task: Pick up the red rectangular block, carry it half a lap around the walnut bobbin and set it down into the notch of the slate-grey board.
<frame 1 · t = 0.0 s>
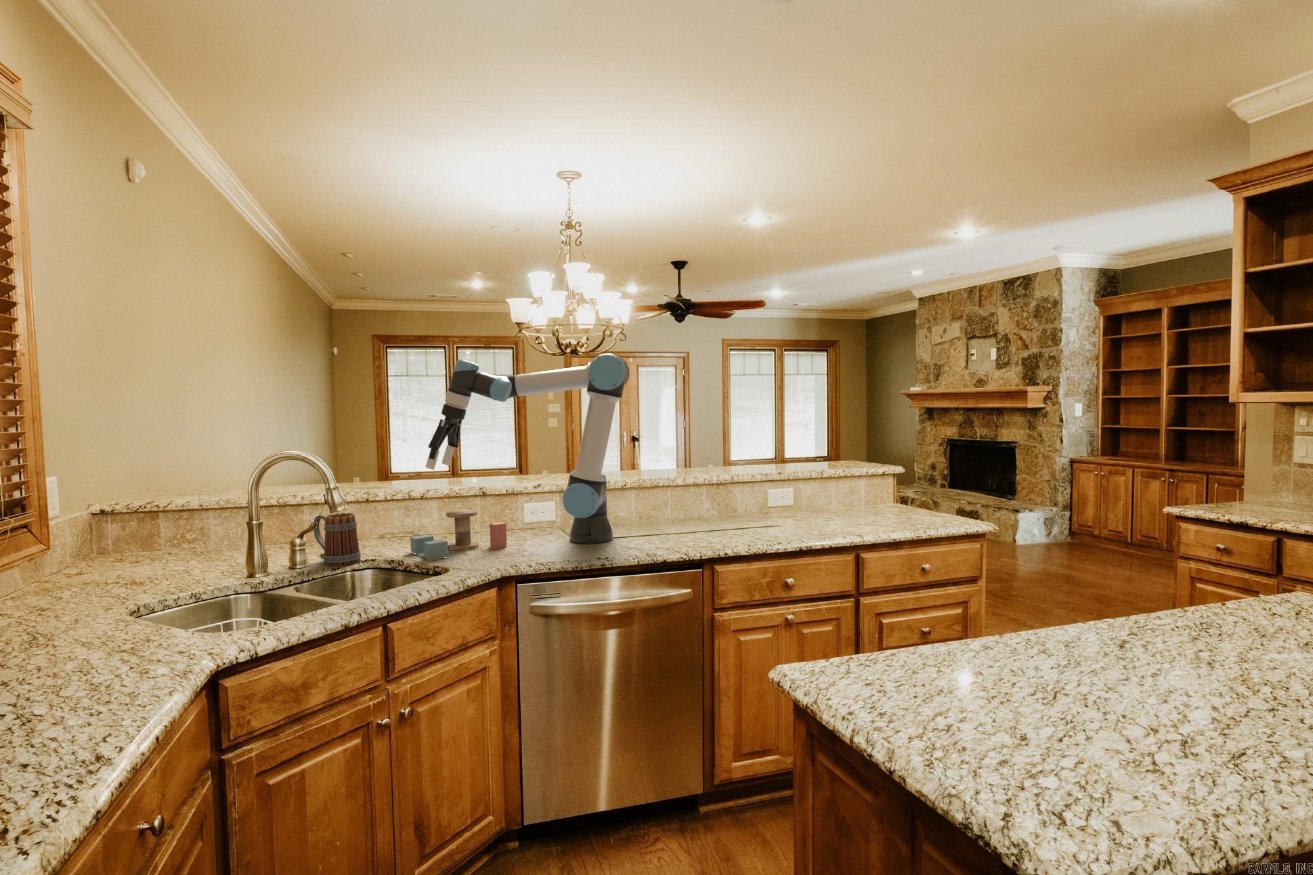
hand: (437, 466, 227), 28 cm above the countertop, tool tilted 20°, fingers open, 13 cm apart
red rectangular block: (498, 546, 229), on the countertop
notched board: (429, 555, 219), on the countertop
bobbin: (463, 547, 230), on the countertop
mug: (336, 562, 212), on the countertop
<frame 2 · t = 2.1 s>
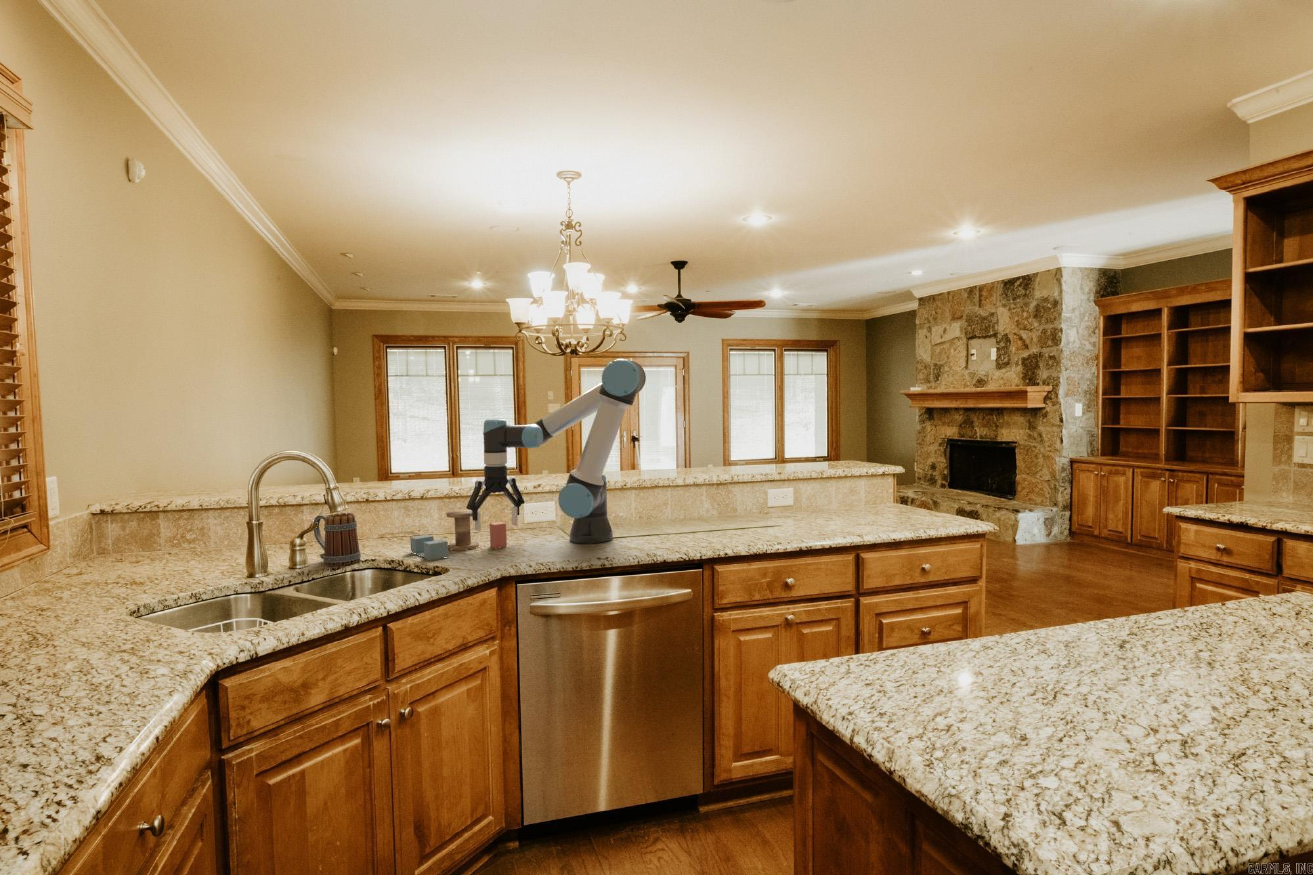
hand: (496, 527, 229), 6 cm above the countertop, tool pointing down, fingers open, 13 cm apart
nothing on the countertop moved.
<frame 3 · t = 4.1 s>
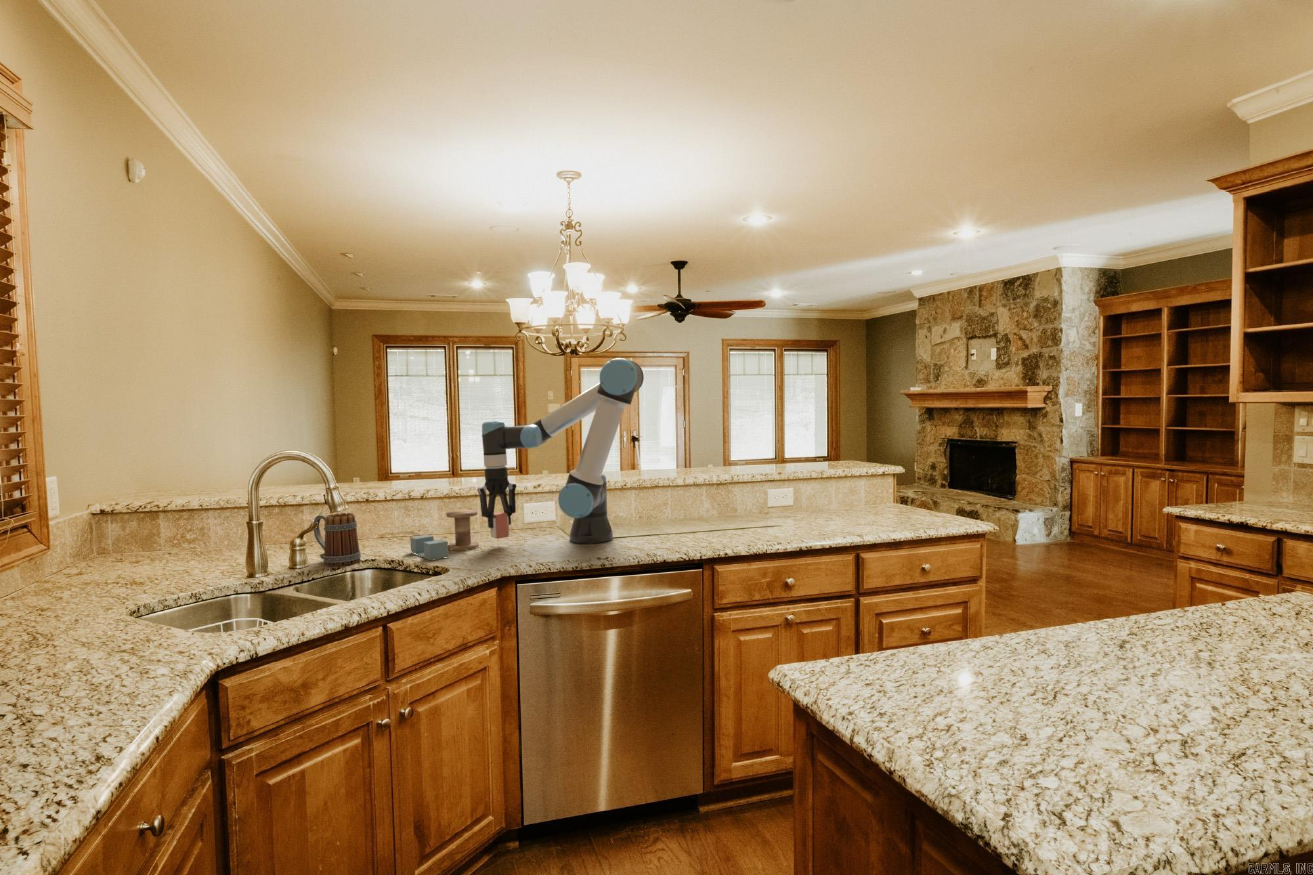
hand: (500, 535, 229), 4 cm above the countertop, tool pointing down, fingers closed on red rectangular block, 4 cm apart
red rectangular block: (500, 536, 229), point 3 cm above the countertop, touching gripper
everything else where it was.
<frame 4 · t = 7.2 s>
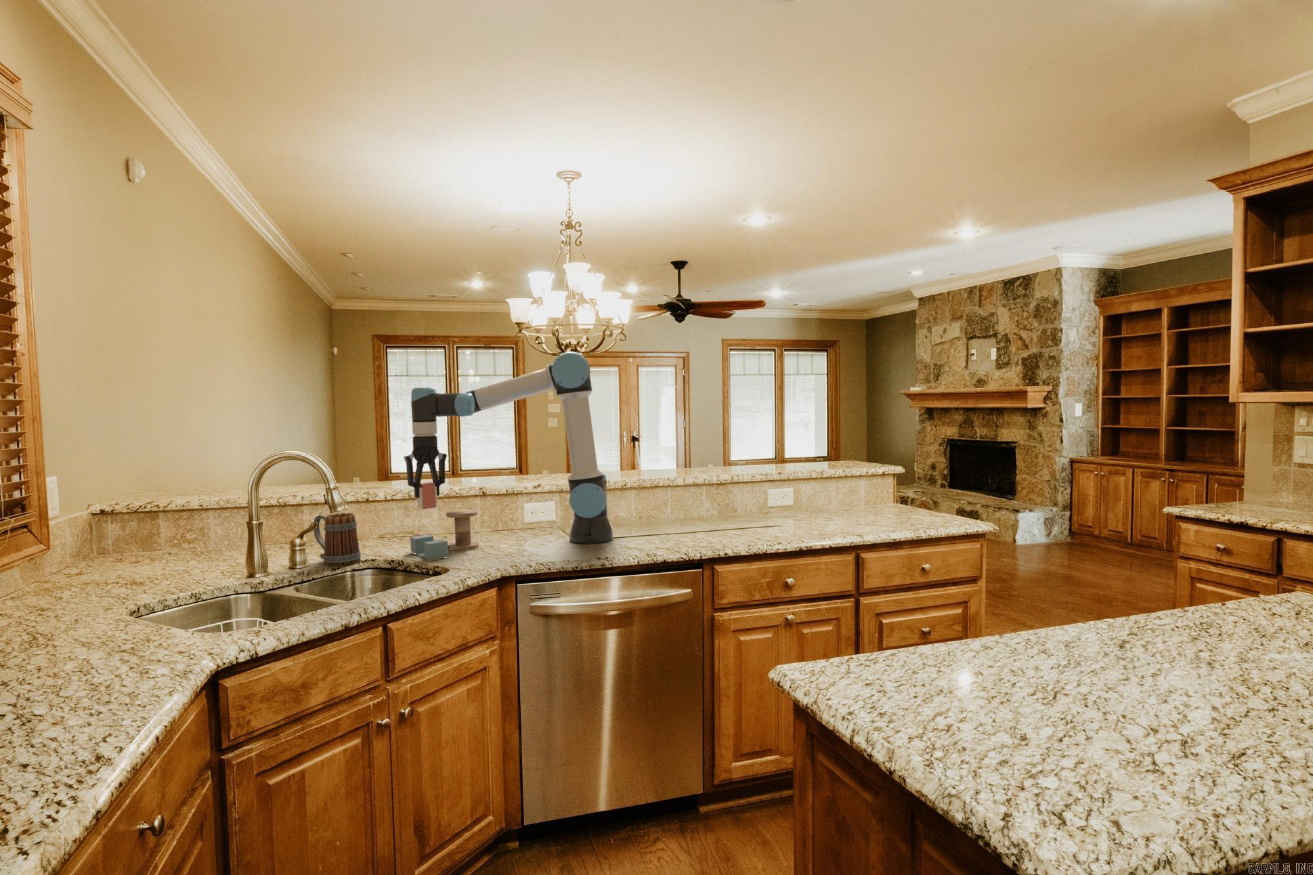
hand: (427, 506, 221), 15 cm above the countertop, tool pointing down, fingers closed on red rectangular block, 4 cm apart
red rectangular block: (427, 507, 221), point 15 cm above the countertop, touching gripper
everything else where it was.
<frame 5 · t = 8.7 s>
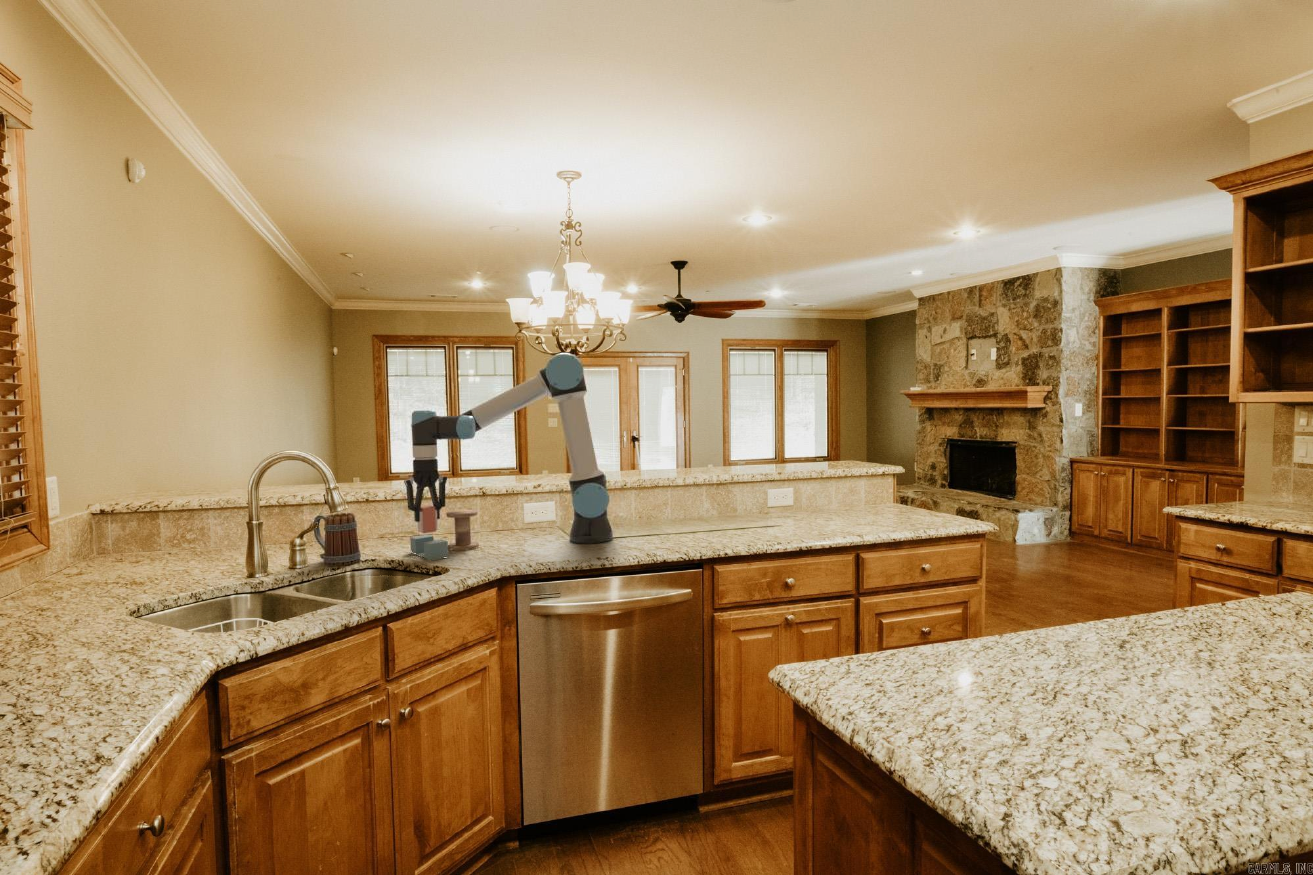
hand: (427, 530, 219), 8 cm above the countertop, tool pointing down, fingers closed on red rectangular block, 4 cm apart
red rectangular block: (427, 531, 219), point 8 cm above the countertop, touching gripper
everything else where it was.
when the fingers open (2 cm above the countertop, at t = 10.1 s): red rectangular block stays where it is, resting on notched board.
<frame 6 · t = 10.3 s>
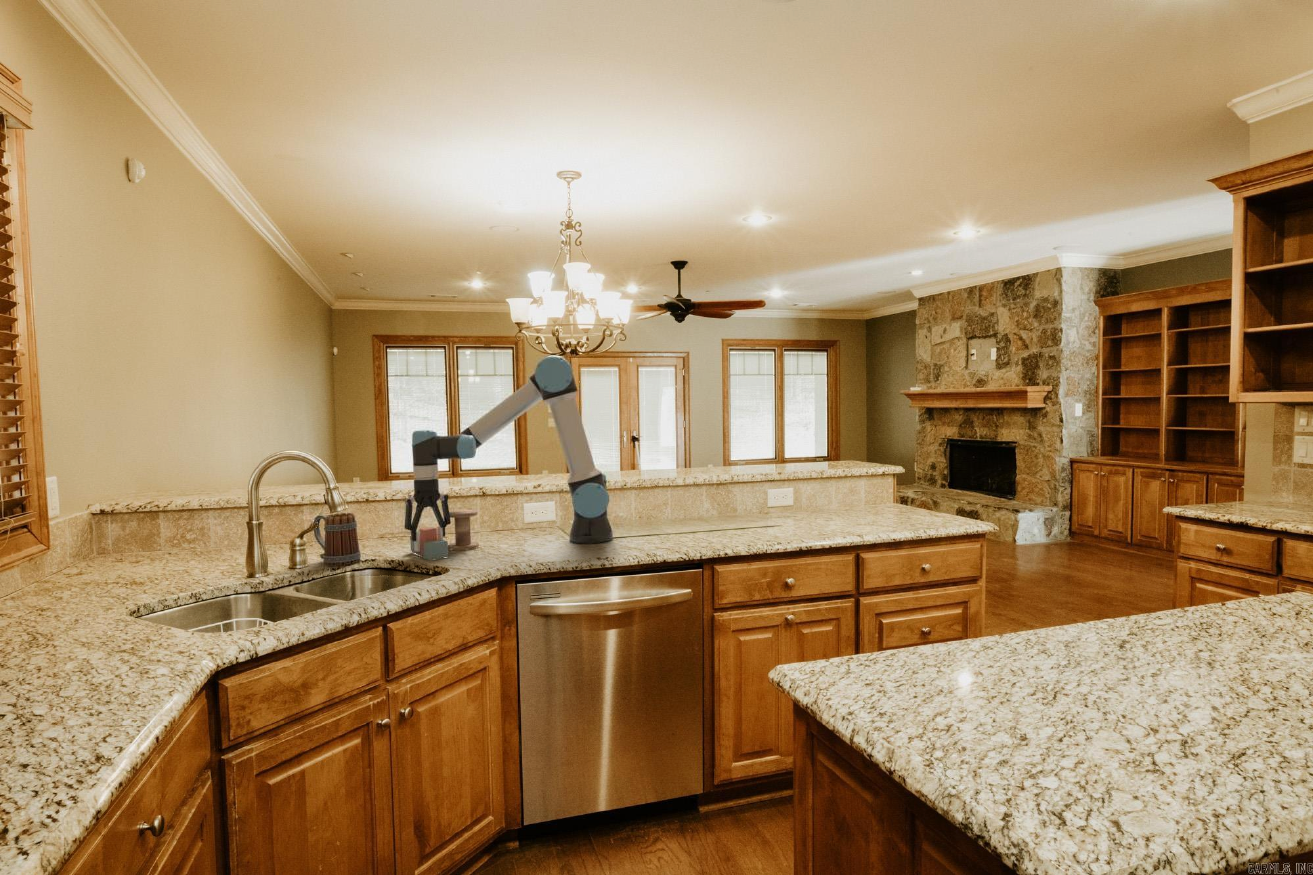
hand: (429, 548, 219), 2 cm above the countertop, tool pointing down, fingers open, 7 cm apart
red rectangular block: (429, 553, 219), point 1 cm above the countertop, touching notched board
everything else where it was.
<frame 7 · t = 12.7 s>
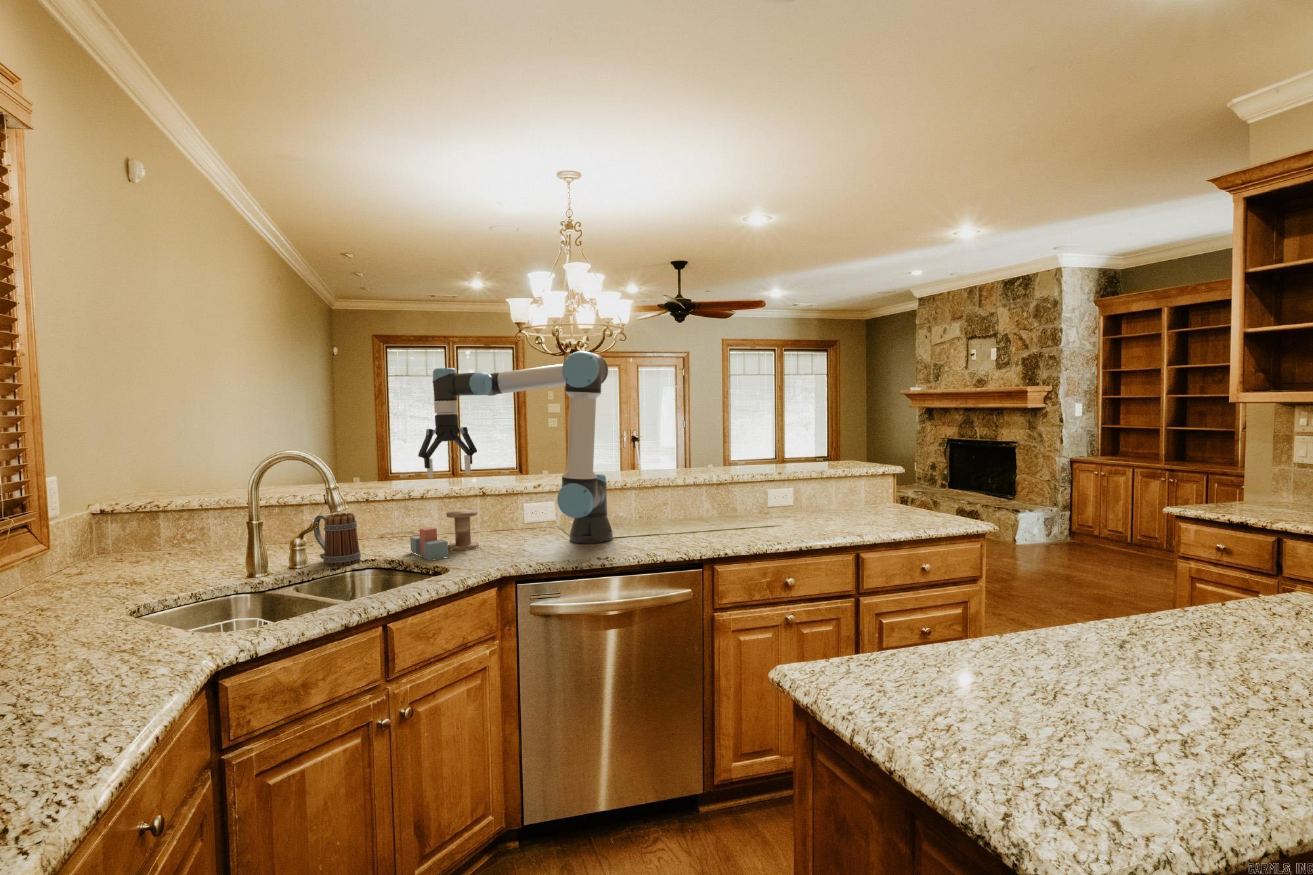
hand: (449, 476, 231), 24 cm above the countertop, tool pointing down, fingers open, 13 cm apart
nothing on the countertop moved.
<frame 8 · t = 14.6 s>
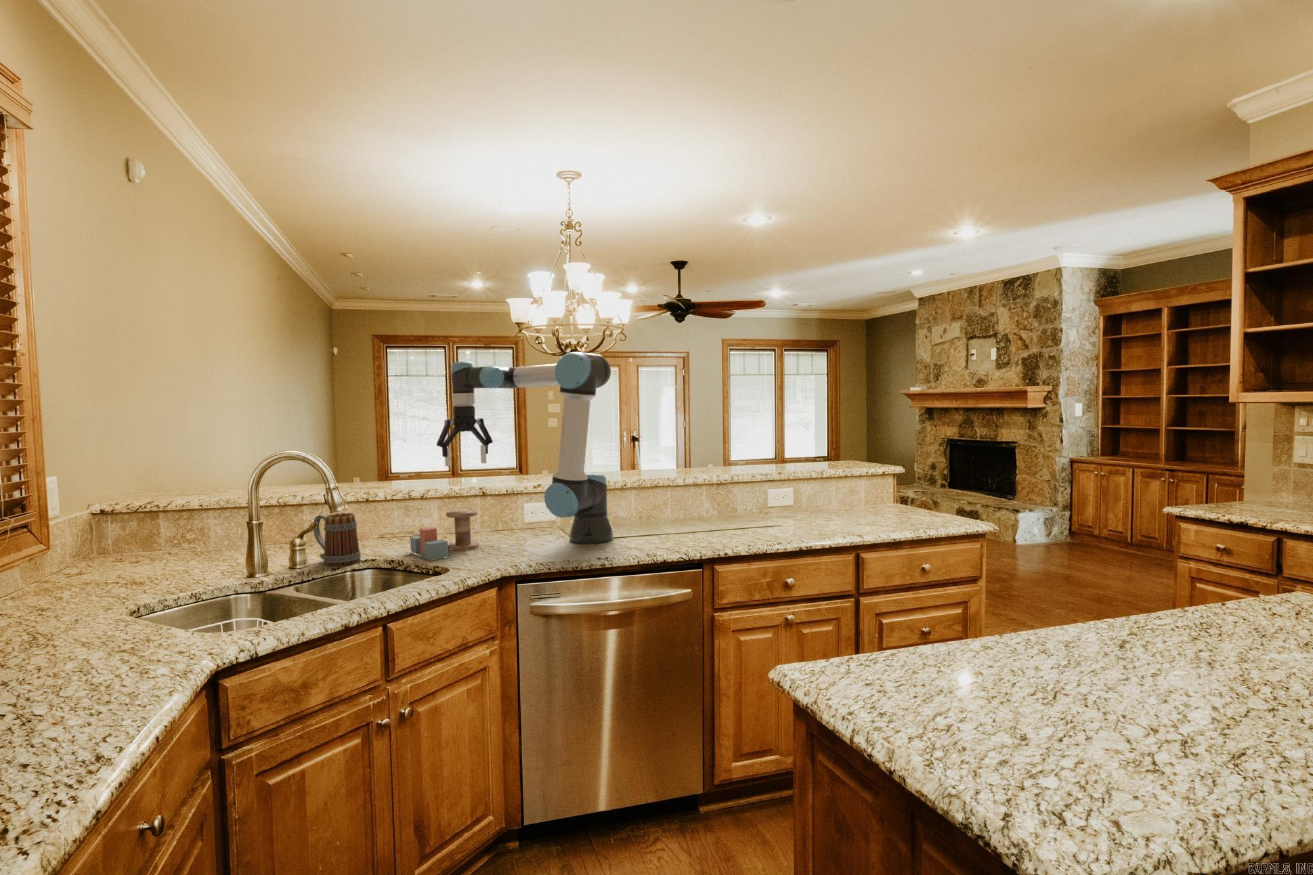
hand: (466, 464, 243), 27 cm above the countertop, tool pointing down, fingers open, 13 cm apart
nothing on the countertop moved.
at the end: red rectangular block 0.1 cm off-centre on the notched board, point 0.6 cm above the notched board's base; the gripper is holding nothing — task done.
